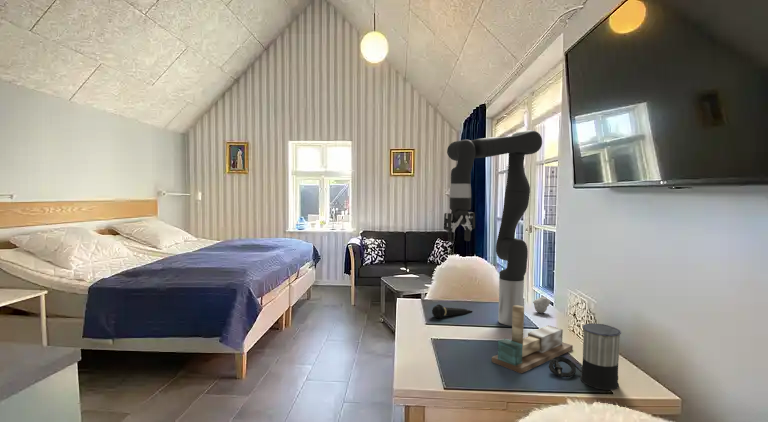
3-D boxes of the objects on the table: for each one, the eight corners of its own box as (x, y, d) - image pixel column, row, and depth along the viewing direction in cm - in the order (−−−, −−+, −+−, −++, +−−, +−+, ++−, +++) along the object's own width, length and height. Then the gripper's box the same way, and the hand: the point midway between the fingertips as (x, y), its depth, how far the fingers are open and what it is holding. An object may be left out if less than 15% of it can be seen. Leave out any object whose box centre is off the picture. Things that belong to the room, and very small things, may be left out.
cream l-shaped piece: (537, 343, 133) (538, 298, 132) (547, 346, 131) (548, 300, 130) (503, 356, 122) (504, 307, 121) (513, 360, 119) (514, 310, 119)
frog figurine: (550, 315, 171) (550, 299, 171) (532, 313, 174) (532, 297, 174) (549, 311, 177) (550, 295, 177) (532, 310, 180) (533, 294, 179)
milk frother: (627, 390, 107) (629, 334, 106) (567, 391, 106) (569, 334, 105) (596, 367, 121) (597, 317, 120) (543, 368, 120) (544, 317, 119)
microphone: (468, 318, 177) (429, 319, 167) (466, 305, 178) (429, 304, 169) (476, 318, 172) (437, 318, 163) (475, 304, 174) (436, 303, 164)
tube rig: (544, 340, 142) (544, 320, 142) (572, 349, 134) (573, 328, 134) (491, 361, 124) (492, 338, 124) (520, 373, 116) (521, 349, 116)
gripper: (454, 196, 141) (453, 244, 141) (481, 196, 149) (480, 241, 150) (438, 196, 146) (438, 241, 147) (465, 196, 155) (464, 239, 156)
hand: (459, 241), depth 149 cm, fingers open, 8 cm apart
